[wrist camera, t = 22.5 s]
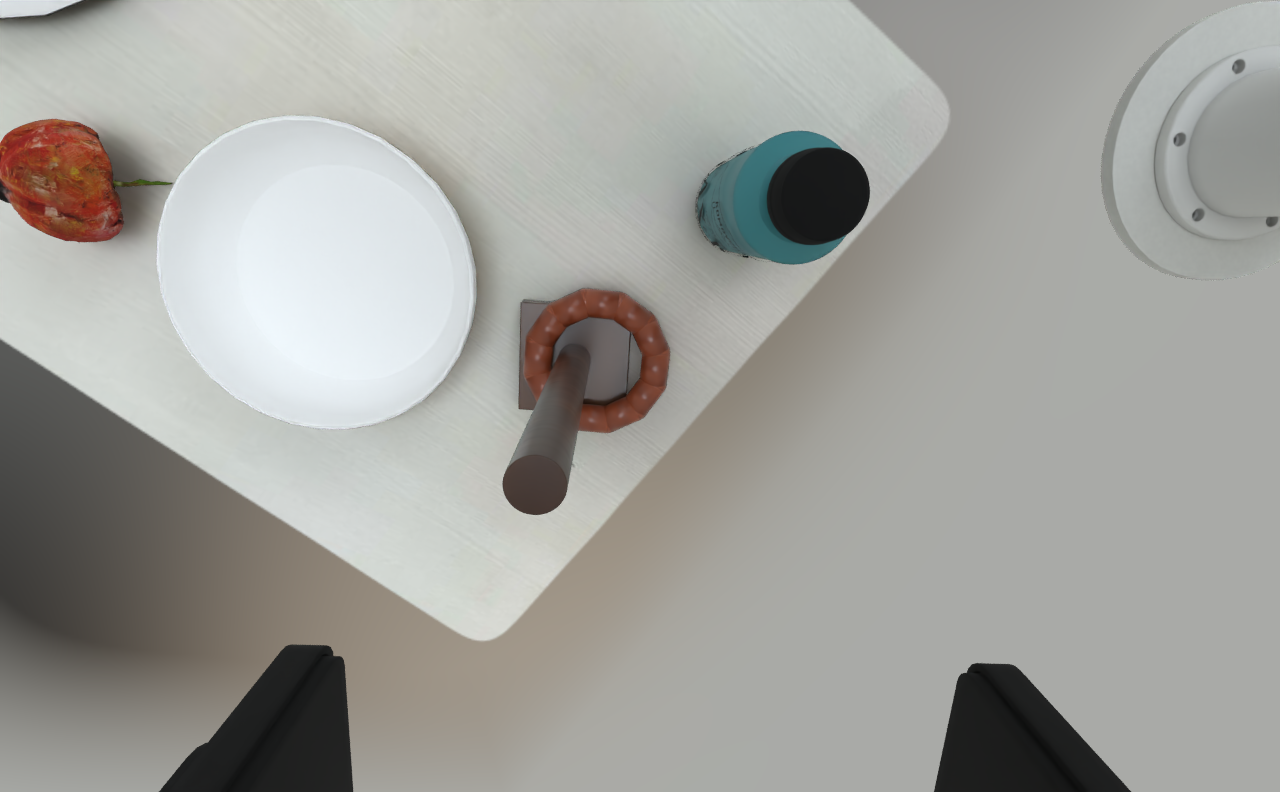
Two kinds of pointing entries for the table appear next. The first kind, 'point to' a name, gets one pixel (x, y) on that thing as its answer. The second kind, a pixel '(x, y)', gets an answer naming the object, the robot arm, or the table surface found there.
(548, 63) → the table surface
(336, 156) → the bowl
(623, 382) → the peg post
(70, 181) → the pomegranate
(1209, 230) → the robot arm
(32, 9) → the plate
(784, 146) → the beverage bottle
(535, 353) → the ring
